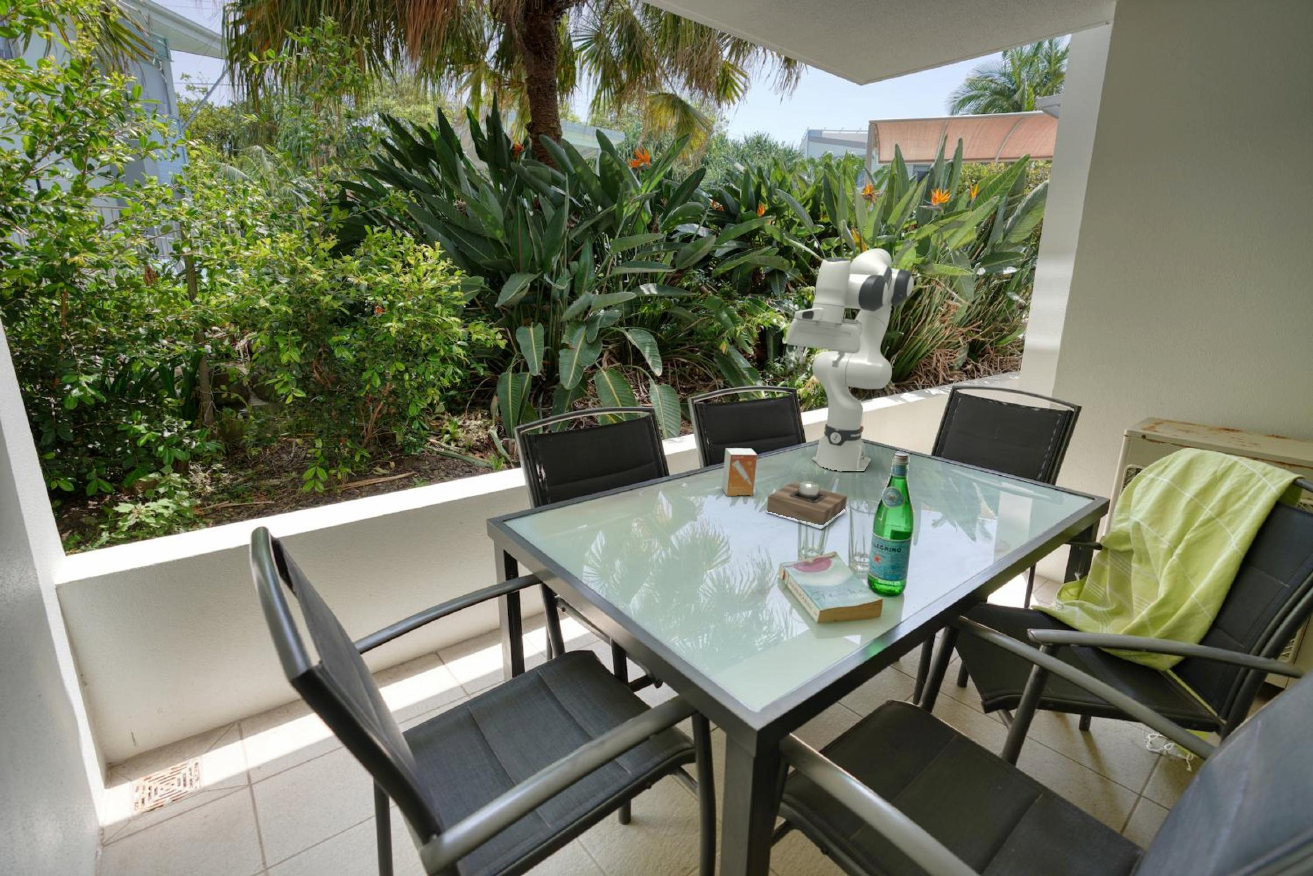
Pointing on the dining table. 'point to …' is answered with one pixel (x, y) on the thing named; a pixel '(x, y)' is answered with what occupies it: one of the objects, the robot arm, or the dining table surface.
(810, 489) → the peg
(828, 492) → the socket block
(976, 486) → the dining table surface
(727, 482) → the small box
